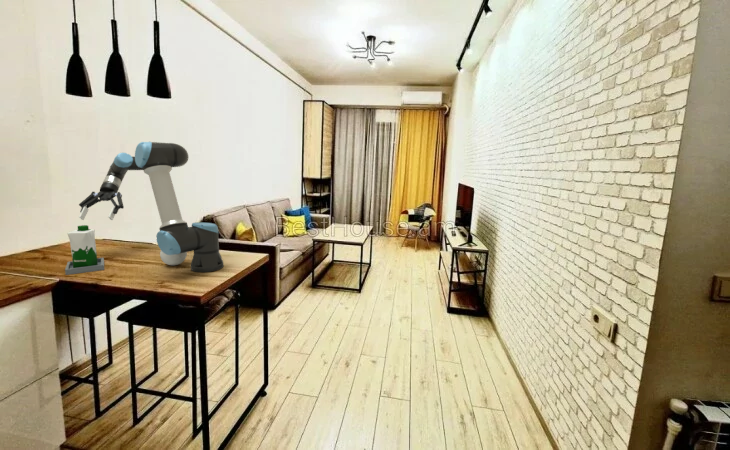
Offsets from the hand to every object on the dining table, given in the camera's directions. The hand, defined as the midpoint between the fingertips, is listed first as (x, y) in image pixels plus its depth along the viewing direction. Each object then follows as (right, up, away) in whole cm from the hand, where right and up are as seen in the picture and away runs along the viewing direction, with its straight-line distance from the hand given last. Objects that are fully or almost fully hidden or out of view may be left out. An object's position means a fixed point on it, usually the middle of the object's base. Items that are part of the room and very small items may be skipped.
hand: (95, 218), depth 171 cm
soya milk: (0, -24, -6) cm, 25 cm away
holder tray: (0, -24, -6) cm, 25 cm away
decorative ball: (+38, -24, +4) cm, 45 cm away
